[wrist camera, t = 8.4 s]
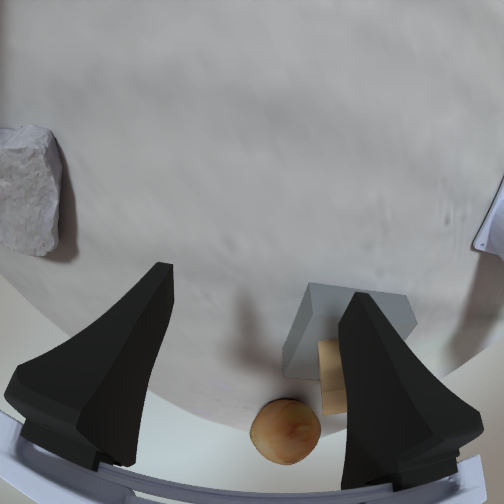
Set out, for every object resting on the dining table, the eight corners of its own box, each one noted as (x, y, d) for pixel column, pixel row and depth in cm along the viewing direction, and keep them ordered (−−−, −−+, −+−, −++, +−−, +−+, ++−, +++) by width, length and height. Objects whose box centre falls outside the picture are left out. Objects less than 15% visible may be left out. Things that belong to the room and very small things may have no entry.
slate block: (404, 292, 26) (417, 323, 22) (364, 352, 31) (370, 381, 28) (308, 278, 25) (313, 313, 22) (282, 346, 31) (282, 377, 28)
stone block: (72, 116, 19) (-12, 126, 16) (46, 136, 15) (-42, 146, 13) (83, 232, 26) (9, 228, 24) (68, 265, 22) (-10, 257, 20)
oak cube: (374, 332, 23) (386, 382, 19) (368, 362, 26) (377, 407, 22) (317, 341, 24) (322, 392, 20) (319, 370, 27) (322, 415, 23)
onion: (246, 390, 37) (240, 457, 29) (319, 385, 36) (324, 454, 28) (257, 415, 43) (254, 470, 35) (319, 411, 41) (321, 468, 33)
